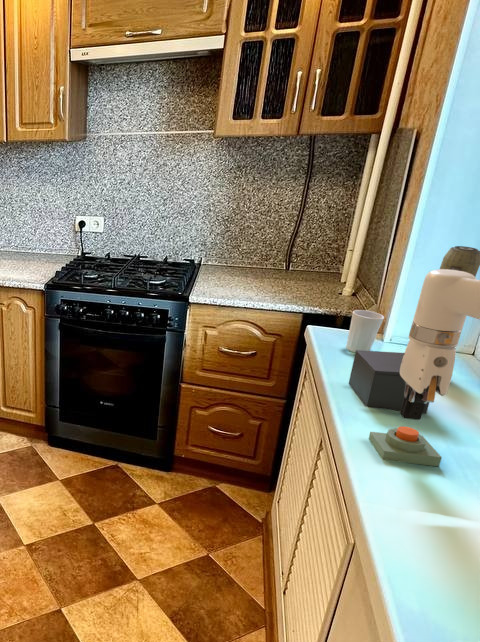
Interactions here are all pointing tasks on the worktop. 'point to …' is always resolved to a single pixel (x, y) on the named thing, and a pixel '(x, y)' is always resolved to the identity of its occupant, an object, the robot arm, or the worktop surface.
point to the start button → (407, 434)
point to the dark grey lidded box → (377, 387)
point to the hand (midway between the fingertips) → (409, 417)
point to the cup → (363, 330)
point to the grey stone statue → (462, 259)
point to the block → (404, 449)
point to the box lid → (382, 361)
